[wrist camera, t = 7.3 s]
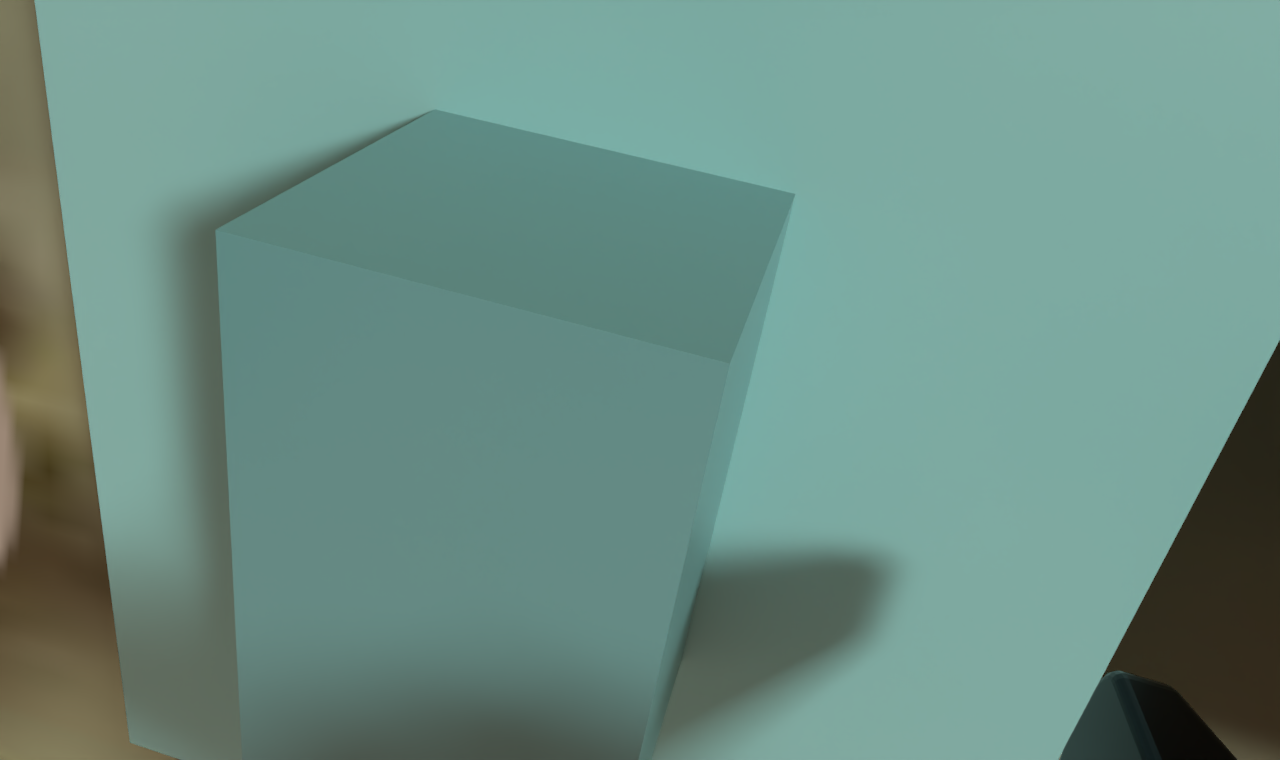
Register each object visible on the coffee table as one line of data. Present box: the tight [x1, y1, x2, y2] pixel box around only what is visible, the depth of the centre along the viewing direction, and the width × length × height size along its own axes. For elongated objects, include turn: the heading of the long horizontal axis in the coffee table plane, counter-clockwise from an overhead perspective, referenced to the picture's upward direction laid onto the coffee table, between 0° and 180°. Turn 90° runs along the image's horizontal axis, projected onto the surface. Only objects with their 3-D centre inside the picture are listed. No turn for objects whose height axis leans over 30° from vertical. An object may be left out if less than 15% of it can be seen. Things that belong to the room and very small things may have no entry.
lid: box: [35, 0, 1280, 760], centre depth 9 cm, size 13×10×6 cm
